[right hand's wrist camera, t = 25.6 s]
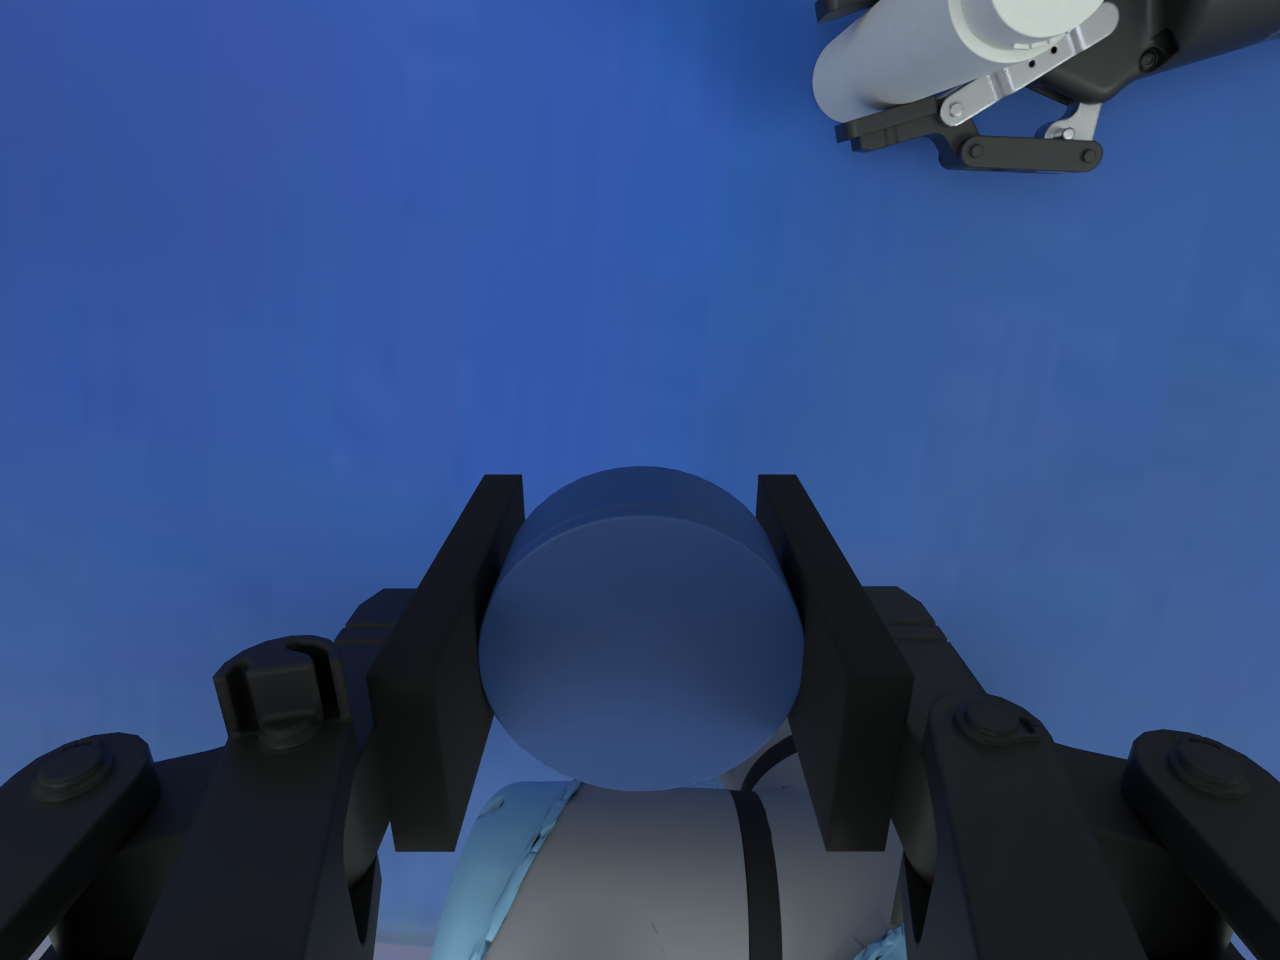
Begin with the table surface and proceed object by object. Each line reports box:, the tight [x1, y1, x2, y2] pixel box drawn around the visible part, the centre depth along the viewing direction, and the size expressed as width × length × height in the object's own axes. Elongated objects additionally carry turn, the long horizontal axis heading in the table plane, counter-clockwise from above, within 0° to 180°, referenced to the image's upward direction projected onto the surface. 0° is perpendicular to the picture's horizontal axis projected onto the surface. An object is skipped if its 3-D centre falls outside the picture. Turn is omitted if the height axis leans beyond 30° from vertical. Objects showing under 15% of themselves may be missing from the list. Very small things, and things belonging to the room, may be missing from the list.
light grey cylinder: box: [813, 0, 1104, 123], centre depth 26 cm, size 4×4×18 cm
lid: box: [477, 466, 805, 791], centre depth 11 cm, size 5×5×2 cm
